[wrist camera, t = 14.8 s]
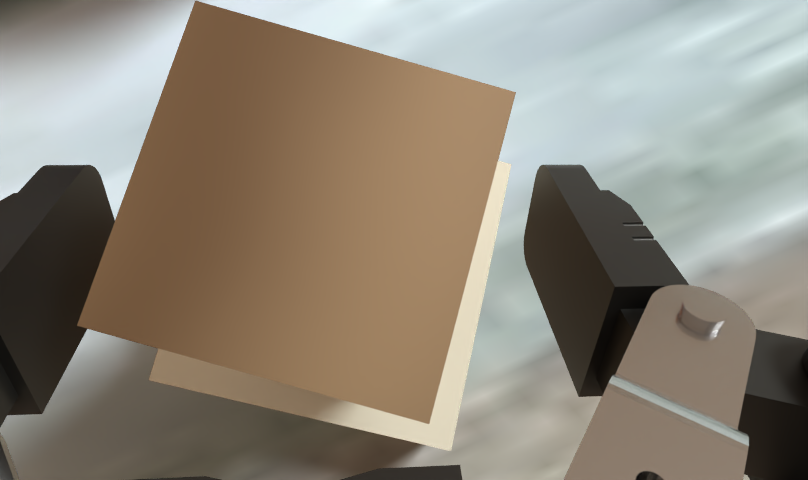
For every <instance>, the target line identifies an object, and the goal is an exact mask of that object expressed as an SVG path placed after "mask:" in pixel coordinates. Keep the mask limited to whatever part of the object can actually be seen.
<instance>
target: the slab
mask: <svg viewBox="0 0 808 480" xmlns="http://www.w3.org/2000/svg"><path fill="white" fill-rule="evenodd" d="M510 168H511V164H508V163H504V162H500V161H498V162H497V166H496V170H495V174H494V178H493V182H492V185H491V189H490V193H489V197H488V201H487V205H486V208H485V212H484V216H483V220H482V224H481V228H480V231H479V235H478V239H477V243H476V247H475V251H474V254H473V258H472V262H471V266H470V270H469V274H468V277H467V281H466V285H465V289H464V293H463V297H462V300H461V304H460V308H459V312H458V316H457V319H456V323H455V327H454V331H453V335H452V339H451V342H450V346H449V350H448V354H447V358H446V362H445V365H444V369H443V373H442V377H441V381H440V385H439V388H438V392H437V396H436V400H435V404H434V408H433V411H432V415H431V419H430V423H429V424H426V423H423V422H419V421H416V420H412V419H408V418H405V417H401V416H398V415H394V414H391V413H387V412H383V411H380V410H376V409H373V408H369V407H366V406H362V405H358V404H355V403H351V402H348V401H344V400H341V399H337V398H333V397H330V396H326V395H323V394H319V393H316V392H312V391H308V390H305V389H301V388H298V387H294V386H291V385H287V384H284V383H280V382H276V381H273V380H269V379H266V378H262V377H259V376H255V375H251V374H248V373H244V372H241V371H237V370H234V369H230V368H226V367H223V366H219V365H216V364H212V363H209V362H205V361H201V360H198V359H194V358H191V357H187V356H184V355H180V354H176V353H173V352H169V351H166V350H162V349H159V348H158V351H157V354H156V358H155V361H154V364H153V367H152V371H151V374H150V377H149V380H150V381H154V382H158V383H162V384H167V385H171V386H175V387H180V388H184V389H188V390H192V391H197V392H201V393H205V394H209V395H214V396H218V397H222V398H227V399H231V400H235V401H239V402H244V403H248V404H252V405H257V406H261V407H265V408H269V409H274V410H278V411H282V412H286V413H291V414H295V415H299V416H304V417H308V418H312V419H316V420H321V421H325V422H329V423H334V424H338V425H342V426H346V427H351V428H355V429H359V430H363V431H368V432H372V433H376V434H381V435H385V436H389V437H393V438H398V439H402V440H406V441H411V442H415V443H419V444H423V445H428V446H432V447H436V448H440V449H445V450H449V451H451V448H452V443H453V438H454V433H455V429H456V424H457V419H458V414H459V410H460V405H461V400H462V396H463V391H464V386H465V381H466V377H467V372H468V367H469V362H470V358H471V353H472V348H473V343H474V339H475V334H476V329H477V324H478V320H479V315H480V310H481V306H482V301H483V296H484V291H485V287H486V282H487V277H488V272H489V268H490V263H491V258H492V253H493V249H494V244H495V239H496V235H497V230H498V225H499V220H500V216H501V211H502V206H503V201H504V197H505V192H506V187H507V182H508V178H509V173H510Z"/></svg>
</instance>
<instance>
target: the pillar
mask: <svg viewBox="0 0 808 480" xmlns="http://www.w3.org/2000/svg"><path fill="white" fill-rule="evenodd" d="M515 93H516V92H513V91H509V90H506V89H502V88H499V87H495V86H492V85H488V84H485V83H481V82H478V81H474V80H471V79H467V78H464V77H460V76H457V75H453V74H450V73H446V72H443V71H439V70H436V69H432V68H429V67H425V66H422V65H418V64H415V63H411V62H408V61H404V60H401V59H397V58H394V57H390V56H387V55H383V54H380V53H376V52H373V51H369V50H366V49H363V48H359V47H356V46H352V45H349V44H345V43H342V42H338V41H335V40H331V39H328V38H324V37H321V36H317V35H314V34H310V33H307V32H303V31H300V30H296V29H293V28H289V27H286V26H282V25H279V24H275V23H272V22H268V21H265V20H261V19H258V18H254V17H251V16H247V15H244V14H240V13H237V12H233V11H230V10H226V9H223V8H219V7H216V6H212V5H209V4H205V3H202V2H198V1H195V3H194V6H193V9H192V11H191V14H190V17H189V20H188V22H187V25H186V28H185V31H184V33H183V36H182V39H181V42H180V44H179V47H178V50H177V53H176V55H175V58H174V61H173V64H172V66H171V69H170V72H169V75H168V77H167V80H166V83H165V86H164V88H163V91H162V94H161V97H160V99H159V102H158V105H157V107H156V110H155V113H154V116H153V118H152V121H151V124H150V127H149V129H148V132H147V135H146V138H145V140H144V143H143V146H142V149H141V151H140V154H139V157H138V160H137V162H136V165H135V168H134V171H133V173H132V176H131V179H130V182H129V184H128V187H127V190H126V193H125V195H124V198H123V201H122V203H121V206H120V209H119V212H118V214H117V217H116V220H115V223H114V225H113V228H112V231H111V234H110V236H109V239H108V242H107V245H106V247H105V250H104V253H103V256H102V258H101V261H100V264H99V267H98V269H97V272H96V275H95V278H94V280H93V283H92V286H91V289H90V291H89V294H88V297H87V299H86V302H85V305H84V308H83V310H82V313H81V316H80V319H79V321H78V324H77V326H80V327H84V328H87V329H91V330H94V331H98V332H101V333H105V334H109V335H112V336H116V337H119V338H123V339H126V340H130V341H134V342H137V343H141V344H144V345H148V346H151V347H155V348H159V349H162V350H166V351H169V352H173V353H176V354H180V355H184V356H187V357H191V358H194V359H198V360H201V361H205V362H209V363H212V364H216V365H219V366H223V367H226V368H230V369H234V370H237V371H241V372H244V373H248V374H251V375H255V376H259V377H262V378H266V379H269V380H273V381H276V382H280V383H284V384H287V385H291V386H294V387H298V388H301V389H305V390H308V391H312V392H316V393H319V394H323V395H326V396H330V397H333V398H337V399H341V400H344V401H348V402H351V403H355V404H358V405H362V406H366V407H369V408H373V409H376V410H380V411H383V412H387V413H391V414H394V415H398V416H401V417H405V418H408V419H412V420H416V421H419V422H423V423H426V424H429V423H430V419H431V415H432V411H433V408H434V404H435V400H436V396H437V392H438V388H439V385H440V381H441V377H442V373H443V369H444V365H445V362H446V358H447V354H448V350H449V346H450V342H451V339H452V335H453V331H454V327H455V323H456V319H457V316H458V312H459V308H460V304H461V300H462V297H463V293H464V289H465V285H466V281H467V277H468V274H469V270H470V266H471V262H472V258H473V254H474V251H475V247H476V243H477V239H478V235H479V231H480V228H481V224H482V220H483V216H484V212H485V208H486V205H487V201H488V197H489V193H490V189H491V185H492V182H493V178H494V174H495V170H496V166H497V162H498V159H499V155H500V151H501V147H502V143H503V139H504V136H505V132H506V128H507V124H508V120H509V116H510V113H511V109H512V105H513V101H514V97H515Z"/></svg>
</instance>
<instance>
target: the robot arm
mask: <svg viewBox="0 0 808 480" xmlns="http://www.w3.org/2000/svg"><path fill="white" fill-rule="evenodd" d="M114 223H115V220H114V217H113V214H112V211H111V207H110V204H109V201H108V198H107V195H106V191H105V188H104V185H103V182H102V179H101V176H100V174H99V172H98V171H97V169H96V168H95V167H93V166H91V165H46V166H43V167H42V168H40V169H39V170H38V171H37V173H36V174H35V175H34V176H33V177H32V178H31V179H30V180H29V181H28V182H27V183H26V185H25V186H24V187H23V188H22V189H21V190H20V191H19V192H18V193H13V194H12V195H10V196H8V197H6V198H5V199H3V200H1V201H0V427H1V425H2V423H3V422H4V420H5V418H6V417H7V415H26V414H42V413H43V411H44V409H45V407H46V405H47V404H48V402H49V400H50V398H51V396H52V394H53V392H54V390H55V388H56V387H57V385H58V383H59V381H60V379H61V377H62V375H63V373H64V372H65V370H66V368H67V366H68V364H69V362H70V360H71V358H72V356H73V355H74V353H75V351H76V349H77V347H78V345H79V343H80V341H81V340H82V338H83V336H84V334H85V332H86V330H87V328H84V327H80V326H77V324H78V321H79V319H80V316H81V313H82V310H83V308H84V305H85V302H86V299H87V297H88V294H89V291H90V289H91V286H92V283H93V280H94V278H95V275H96V272H97V269H98V267H99V264H100V261H101V258H102V256H103V253H104V250H105V247H106V245H107V242H108V239H109V236H110V234H111V231H112V228H113V225H114ZM653 237H654V236H653V235H652V234H651V232H650V231H649V230H648V228H647V227H646V226H643V221H642V220H641V219H640V217H639V216H638V215H637V213H636V212H635V211H634V209H633V208H632V206H631V205H630V204H628V203H627V202H625V201H624V200H622V199H621V198H619V197H618V196H616V195H615V194H613V193H612V192H610V191H609V190H601V191H600V190H599V188H598V187H597V185H596V184H595V182H594V181H593V179H592V178H591V176H590V175H589V173H588V172H587V170H586V169H585V168H584V166H582V165H541V166H540V167H539V169H538V171H537V174H536V178H535V183H534V188H533V193H532V198H531V203H530V208H529V214H528V219H527V224H526V229H525V235H524V255H525V261H526V265H527V267H528V270H529V272H530V275H531V278H532V280H533V283H534V285H535V288H536V290H537V293H538V295H539V298H540V300H541V303H542V305H543V308H544V310H545V313H546V315H547V318H548V320H549V323H550V325H551V328H552V330H553V333H554V336H555V338H556V341H557V343H558V346H559V348H560V351H561V353H562V356H563V358H564V361H565V363H566V366H567V368H568V371H569V373H570V376H571V378H572V381H573V383H574V386H575V388H576V391H577V394H578V396H579V397H586V396H602V398H601V400H600V402H599V404H598V407H597V409H596V411H595V413H594V415H593V417H592V420H591V422H590V424H589V426H588V428H587V430H586V433H585V435H584V437H583V439H582V441H581V443H580V446H579V448H578V450H577V452H576V454H575V456H574V459H573V461H572V463H571V465H570V467H569V469H568V472H567V474H566V476H565V478H564V480H743V477H744V474H745V475H748V477H749V478H750V480H808V340H805V339H800V338H795V337H790V336H785V335H781V334H776V333H771V332H766V331H761V330H757V329H755V326H754V324H753V322H752V320H751V319H750V317H749V316H748V315H747V313H746V312H745V311H744V310H743V309H742V308H740V307H739V306H738V305H737V304H735V303H734V302H732V301H731V300H729V299H728V298H726V297H724V296H722V295H720V294H718V293H715V292H713V291H710V290H707V289H704V288H701V287H696V286H690V285H689V284H688V283H687V281H686V280H685V279H684V277H683V276H682V275H681V273H680V272H679V270H678V269H677V268H676V266H675V265H674V264H673V262H672V261H671V260H670V258H669V257H668V255H667V254H666V253H665V251H664V250H663V249H662V247H661V246H660V245H659V243H658V242H657V241H656V240H653ZM0 480H20V479H19V477H18V474H17V471H16V468H15V466H14V463H13V460H12V458H11V455H10V452H9V449H8V447H7V444H6V441H5V440H4V438H3V436H2V435H1V433H0ZM137 480H220V479H215V478H210V477H206V476H204V477H182V478H159V479H137ZM342 480H462V475H461V469H460V465H449V466H427V467H405V468H382V469H376V470H373V471H369V472H366V473H362V474H359V475H355V476H352V477H348V478H345V479H342Z"/></svg>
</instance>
